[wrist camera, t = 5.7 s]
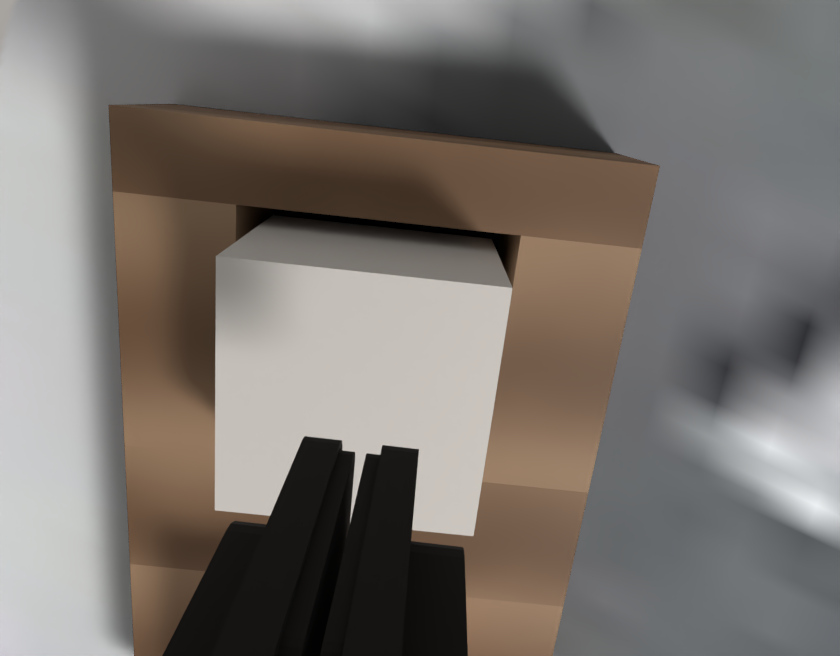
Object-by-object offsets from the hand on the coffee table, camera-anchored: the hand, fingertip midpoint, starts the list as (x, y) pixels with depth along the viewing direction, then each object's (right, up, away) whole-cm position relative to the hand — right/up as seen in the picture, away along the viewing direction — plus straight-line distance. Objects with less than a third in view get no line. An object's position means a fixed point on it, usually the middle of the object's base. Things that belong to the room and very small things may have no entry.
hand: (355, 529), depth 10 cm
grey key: (0, +3, +9) cm, 10 cm away
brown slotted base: (-1, -2, +13) cm, 13 cm away
